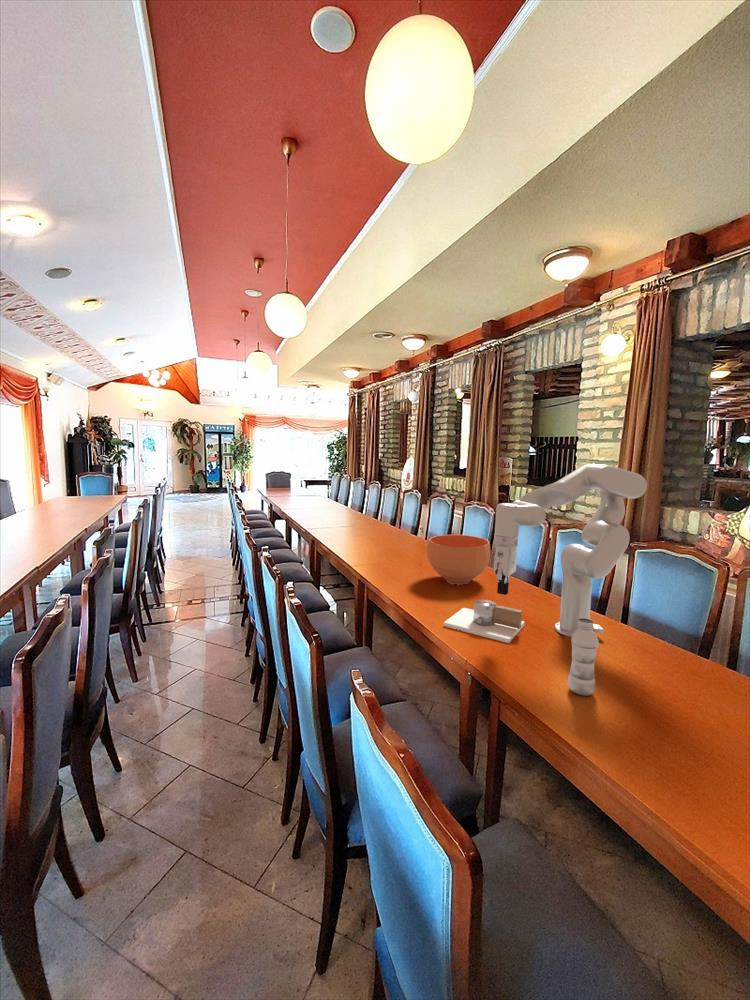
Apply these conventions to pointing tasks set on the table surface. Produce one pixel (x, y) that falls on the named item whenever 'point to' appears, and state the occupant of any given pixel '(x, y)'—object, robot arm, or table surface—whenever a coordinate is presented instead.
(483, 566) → the bowl
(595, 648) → the plastic bottle
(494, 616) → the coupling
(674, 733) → the table surface
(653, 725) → the table surface
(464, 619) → the base
